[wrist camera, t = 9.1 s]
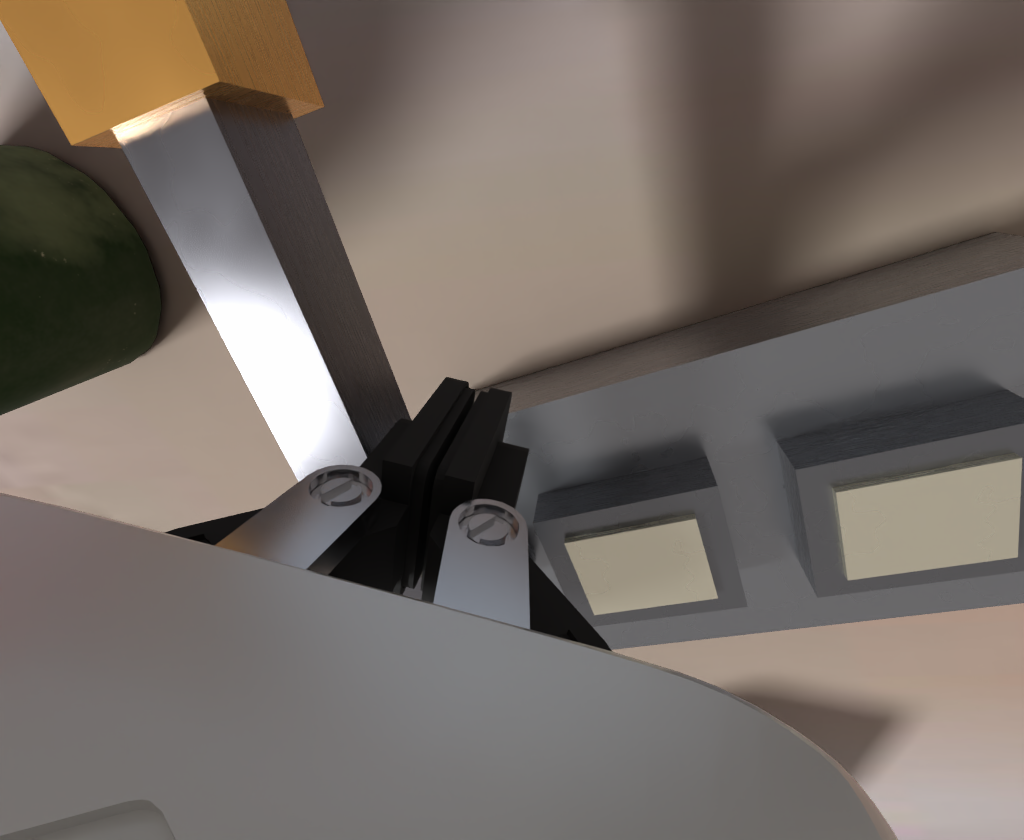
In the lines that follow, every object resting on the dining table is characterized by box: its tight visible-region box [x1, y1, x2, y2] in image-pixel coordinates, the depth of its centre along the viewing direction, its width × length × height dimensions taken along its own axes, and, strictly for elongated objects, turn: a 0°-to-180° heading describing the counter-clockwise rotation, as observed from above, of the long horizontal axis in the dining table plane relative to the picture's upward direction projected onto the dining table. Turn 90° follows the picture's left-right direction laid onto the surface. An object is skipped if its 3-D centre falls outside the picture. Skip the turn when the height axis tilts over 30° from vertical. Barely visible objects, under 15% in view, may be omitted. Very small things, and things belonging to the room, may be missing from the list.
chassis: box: [474, 232, 1024, 650], centre depth 19 cm, size 22×14×10 cm, turn 111°
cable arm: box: [0, 0, 423, 600], centre depth 13 cm, size 22×4×3 cm, turn 15°
